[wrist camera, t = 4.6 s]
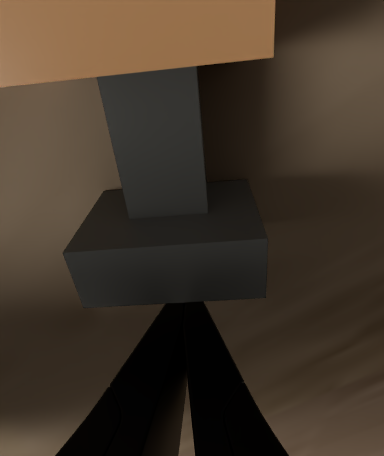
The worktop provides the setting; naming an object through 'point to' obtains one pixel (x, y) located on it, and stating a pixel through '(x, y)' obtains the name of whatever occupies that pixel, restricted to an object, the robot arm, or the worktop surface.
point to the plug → (151, 142)
